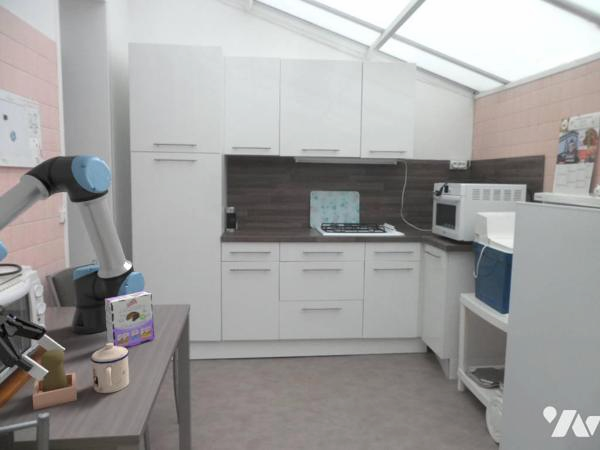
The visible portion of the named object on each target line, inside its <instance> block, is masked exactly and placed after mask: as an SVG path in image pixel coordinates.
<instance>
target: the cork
mask: <svg viewBox="0 0 600 450" xmlns="http://www.w3.org/2000/svg"><path fill="white" fill-rule="evenodd" d="M65 358H66V356H65V352H64V351H62V350H59V349H55V350H50V351H47V350H46V351H45V352H43V354H42V355H41V358H40V363H41V366H42V367H43V368H45V369H46V370H48V371H49V372H48V373H47V374H46V375H45V376H44V377H43V378H42V379H43V389H42V393H43V392H48V391H53V390H57V389H62V388H67V387H68V383H67V379H66V375H65V374H66V371H65V367H64V361H65Z"/></svg>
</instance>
